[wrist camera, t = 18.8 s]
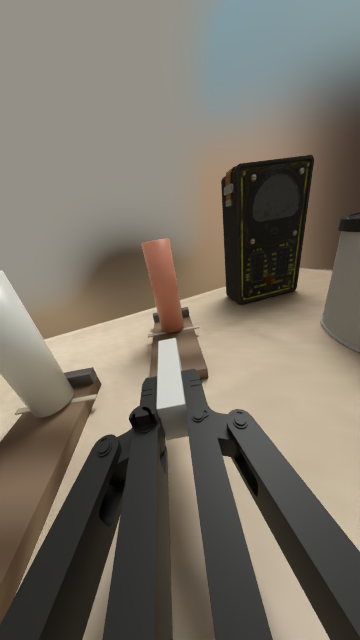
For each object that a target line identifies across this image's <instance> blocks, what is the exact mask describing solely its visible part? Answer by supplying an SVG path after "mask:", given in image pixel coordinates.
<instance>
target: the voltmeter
mask: <svg viewBox="0 0 360 640" xmlns="http://www.w3.org/2000/svg"><path fill="white" fill-rule="evenodd" d="M313 164H314V158H313V156H312V155H307V156H299V157H291V158H283V159H275V160H267V161H258V162H250V163H243V164H239V165H237V166H235V167H233V168H232V169H230V170H229V171H228V172H227V173H226V176H225V177H224V178H223V179H222V182H221V183H222V205H223V225H224V226H223V227H224V248H225V270H226V293H227V296H229V297H230V298H232V299H234V300H236V301H237V303H238V304H240V305H242V304H246V303H249V302H253V301H257V300H261V299H265V298H269V297H272V296H276V295H280V294H284V293H288V292H292V291H295V290H296V288H297V282H298V274H299V267H300V259H301V252H302V245H303V237H304V230H305V223H306V215H307V208H308V200H309V193H310V186H311V178H312V170H313ZM231 171H232V172H231Z"/></svg>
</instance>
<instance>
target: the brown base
mask: <svg viewBox="0 0 360 640" xmlns="http://www.w3.org/2000/svg"><path fill="white" fill-rule="evenodd" d="M181 311H182V317H183V322H184V326H183V328H182V329H180V330H178V331H175V332H164V331H163V330H162V328H161V324H160V320H159V316H158V313H153V318H154V322H155V325H154V334H150V335H148V337H153V348H152V359H151V370H150V377H155V376H158V341H162V340H167V339H172V338H176V341H177V346H178V351H179V356H180V361H181V368H182V371H184V370H189V369H196V371H197V372H198V373H199V376H200V379H203V378H208V371H207V366H206V363H205V360H204V358H203V355H202V352H201V349H200V346H199V343H198V340H197V337H196V334H195V331H194V329H197V328H199V325H198V326H193V325H192V322H191V319H190V316H189V310H188V307H185V308H181Z"/></svg>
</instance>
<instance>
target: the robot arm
mask: <svg viewBox="0 0 360 640" xmlns="http://www.w3.org/2000/svg"><path fill="white" fill-rule="evenodd" d="M129 420H130V423H131V425H132V427H133V428H132V429H130V430H129V431H128V432H126V433H124V434H122V435H120V436H118V437H116V436H115V435H112V434H111V435H106V436H104V437H102V438H101V439H99V440H98V441H97V442H96V444H95V445H94V447H93V448H92V450H91V452H90V454H89V456H88V458H87V460H86V462H85V463H84V465H83V467H82V469H81V471H80V473H79V475H78V477H77V479H76V481H75V483H74V484H73V486H72V488H71V490H70V492H69V494H68V496H67V498H66V500H65V502H64V504H63V505H62V507H61V509H60V511H59V513H58V515H57V517H56V519H55V521H54V523H53V525H52V526H51V528H50V530H49V532H48V534H47V536H46V538H45V540H44V542H43V544H42V546H41V547H40V549H39V551H38V553H37V555H36V557H35V559H34V561H33V563H32V565H31V567H30V568H29V570H28V572H27V574H26V576H25V578H24V580H23V582H22V584H21V586H20V588H19V590H18V591H17V593H16V595H15V597H14V599H13V601H12V603H11V605H10V607H9V609H8V611H7V612H6V614H5V616H4V618H3V620H2V622H1V624H0V640H82V639H83V635H84V632H85V629H86V626H87V622H88V619H89V616H90V612H91V609H92V606H93V603H94V599H95V596H96V593H97V590H98V586H99V583H100V580H101V576H102V573H103V570H104V567H105V563H106V560H107V557H108V553H109V550H110V547H111V544H112V540H113V537H114V534H115V531H116V527H117V524H118V521H119V517H120V523H119V530H118V537H117V544H116V550H115V557H114V564H113V571H112V578H111V585H110V592H109V599H108V606H107V613H106V620H105V627H104V633H103V640H173V635H172V600H171V566H170V531H169V496H168V462H167V448H166V445H165V437H166V440H170V439H175V438H181V437H186V436H189V442H190V450H191V458H192V465H193V473H194V480H195V488H196V495H197V503H198V510H199V518H200V525H201V533H202V540H203V548H204V555H205V563H206V571H207V578H208V586H209V593H210V601H211V608H212V616H213V623H214V631H215V638H216V640H273V639H272V636H271V632H270V628H269V625H268V621H267V617H266V614H265V610H264V606H263V603H262V599H261V595H260V592H259V588H258V584H257V581H256V577H255V573H254V570H253V566H252V562H251V559H250V555H249V551H248V548H247V544H246V541H245V537H244V533H243V530H242V526H241V522H240V519H239V515H238V511H237V508H236V504H235V500H234V497H233V493H232V489H231V486H230V482H229V478H228V475H227V471H226V467H225V464H224V460H223V457H222V455H223V456H228V457H231V458H232V460H233V462H234V464H235V466H236V468H237V469H238V471H239V473H240V475H241V477H242V479H243V480H244V482H245V484H246V486H247V488H248V490H249V491H250V493H251V495H252V497H253V499H254V501H255V502H256V504H257V506H258V508H259V510H260V512H261V513H262V515H263V517H264V519H265V521H266V523H267V524H268V526H269V528H270V530H271V532H272V534H273V535H274V537H275V539H276V541H277V543H278V545H279V546H280V548H281V550H282V552H283V554H284V556H285V557H286V559H287V561H288V563H289V565H290V567H291V568H292V570H293V572H294V574H295V576H296V578H297V579H298V581H299V583H300V585H301V587H302V589H303V590H304V592H305V594H306V596H307V598H308V600H309V601H310V603H311V605H312V607H313V609H314V611H315V612H316V614H317V616H318V618H319V620H320V622H321V623H322V625H323V627H324V629H325V631H326V633H327V634H328V636H329V638H330V640H360V552H359V550H358V549H357V548H356V547H355V545H354V544H353V543H352V541H351V540H350V539H349V538H348V536H347V535H346V534H345V533H344V531H343V530H342V529H341V528H340V526H339V525H338V524H337V523H336V521H335V520H334V519H333V518H332V516H331V515H330V514H329V513H328V511H327V510H326V509H325V508H324V506H323V505H322V504H321V503H320V501H319V500H318V499H317V498H316V496H315V495H314V494H313V493H312V491H311V490H310V489H309V487H308V486H307V485H306V484H305V482H304V481H303V480H302V479H301V477H300V476H299V475H298V474H297V472H296V471H295V470H294V469H293V467H292V466H291V465H290V464H289V462H288V461H287V460H286V459H285V457H284V456H283V455H282V454H281V452H280V451H279V450H278V449H277V447H276V446H275V445H274V444H273V442H272V441H271V440H270V439H269V437H268V436H267V435H266V434H265V432H264V431H263V430H262V428H261V427H260V426H259V425H258V423H257V422H256V421H255V420H254V418H253V417H252V416H251V415H250V414H249V413H248V412H246V411H244V410H240V409H235V410H232V411H231V412H229V414H221V413H217V412H214V411H213V410H211V409H210V408H209V406H208V404H207V401H206V398H205V394H204V390H203V387H202V383H201V380H200V376H199V373H198V372H197V371H196V369H189V370H184V371H182V368H181V361H180V356H179V351H178V346H177V341H176V338H172V339H167V340H162V341H158V376H155V377H150V378H146V379H145V381H144V383H143V384H142V392H141V400H140V406H138V407H137V408H135V409H134V410H133V411H132V413H131V414H130V416H129ZM120 514H121V516H120Z"/></svg>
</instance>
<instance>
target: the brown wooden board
mask: <svg viewBox="0 0 360 640" xmlns="http://www.w3.org/2000/svg"><path fill="white" fill-rule="evenodd" d="M64 375H65V376H66V378H67V380H68V381H69V383H70V385H71V386H72V388H73V390H74V394H73V397H72V399H71V400H70V401H69V402H68V404H67V405H65V406H64V407H63V408H62V409H61V410H59V411H58V412H56V413H54V414H52V415H50V416H47V417H42V418H38V417H35V416H34V415H33V413H32V412H31V411H30V410H29V408H28V407H27V408H21V409H18V410H17V411H16V413H15V415H18V414H22V415H21V416H20V418H19V419H18V420H17V422H16V423H15V424H14V425H13V427H12V428H11V429H10V430H9V432H8V433H7V434H6V436H5V437H4V438H3V439H2V441H1V442H0V624H1V622H2V620H3V618H4V616H5V614H6V612H7V611H8V609H9V607H10V605H11V603H12V601H13V598H14V596H15V594H16V591H17V589H18V586H19V584H20V581H21V579H22V577H23V574H24V572H25V569H26V567H27V564H28V562H29V559H30V557H31V555H32V552H33V550H34V547H35V545H36V542H37V540H38V538H39V535H40V533H41V530H42V528H43V525H44V523H45V520H46V518H47V516H48V513H49V511H50V508H51V506H52V503H53V501H54V499H55V496H56V494H57V491H58V489H59V486H60V484H61V481H62V479H63V477H64V474H65V472H66V469H67V467H68V464H69V462H70V460H71V457H72V455H73V452H74V450H75V447H76V445H77V442H78V440H79V438H80V435H81V433H82V430H83V428H84V425H85V423H86V421H87V418H88V416H89V413H90V411H91V408H92V406H93V404H94V401H95V399H96V397H97V394H98V391H99V389H100V386H101V383H100V381H99V379H98V377H97V375H96V373H95V371H94V369H93V368H87V369H82V370H77V371H71V372H66V373H64Z"/></svg>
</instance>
